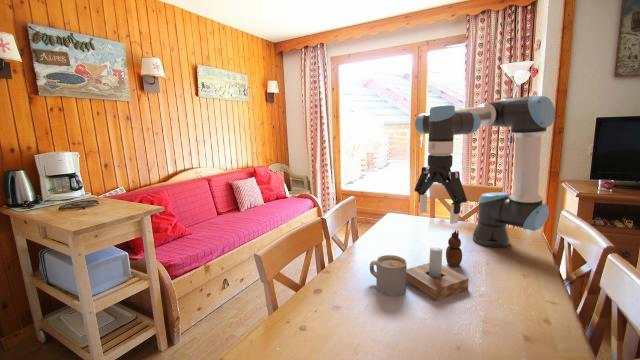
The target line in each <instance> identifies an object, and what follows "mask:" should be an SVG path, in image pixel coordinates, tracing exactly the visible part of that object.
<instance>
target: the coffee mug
mask: <svg viewBox="0 0 640 360" xmlns="http://www.w3.org/2000/svg"><path fill="white" fill-rule="evenodd" d="M407 265H408V263H407V260H406V259H405V258H403V257H401V256H398V255H393V254H386V255H381V256H379V257H377V259H375V260H374V259H373V260H372V261H370V263H369V271H370V274H371V276H373V277H374V278H375V279H376V283H375V284H376V286H375V287H376V290H377V291H378V293H380V294H382V295H385V296H389V297H397V296H398V297H399V296H401V295H403V294H405V293H406V292H407V291H406V290H407V283H406V269H408V268H407ZM374 266H375V267H376V270H375V267H374Z"/></svg>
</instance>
